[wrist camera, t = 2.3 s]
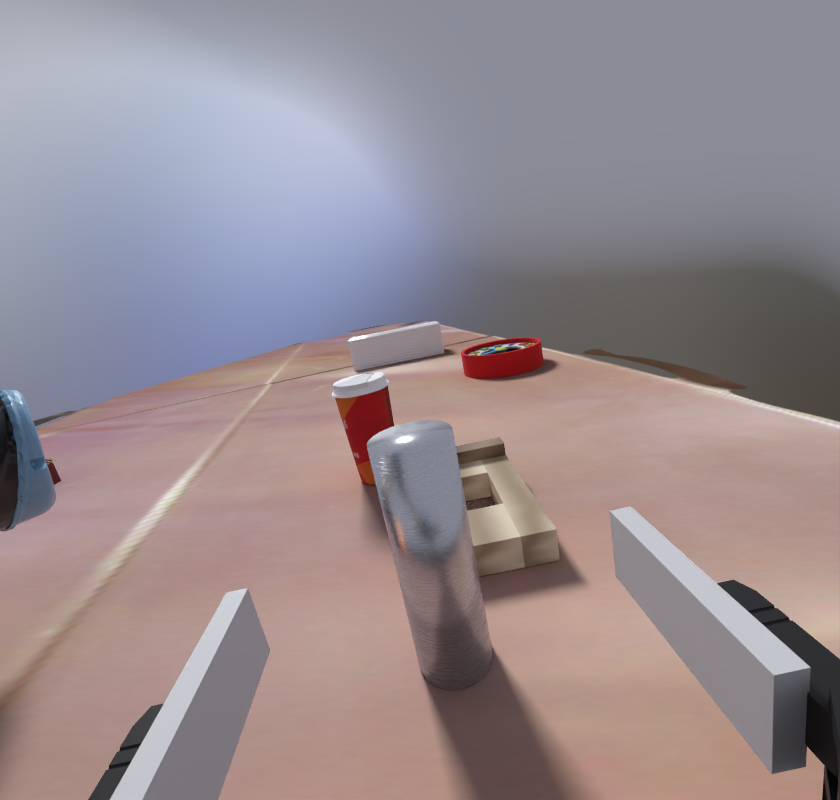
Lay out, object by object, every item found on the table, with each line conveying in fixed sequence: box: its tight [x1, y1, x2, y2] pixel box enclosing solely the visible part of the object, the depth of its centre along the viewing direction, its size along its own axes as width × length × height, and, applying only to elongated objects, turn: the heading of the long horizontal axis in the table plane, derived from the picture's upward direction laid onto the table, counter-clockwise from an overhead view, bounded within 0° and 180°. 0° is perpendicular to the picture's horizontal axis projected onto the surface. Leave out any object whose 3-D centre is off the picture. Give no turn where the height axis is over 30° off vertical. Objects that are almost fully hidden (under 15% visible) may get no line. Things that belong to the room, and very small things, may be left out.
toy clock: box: [461, 338, 543, 379], centre depth 107 cm, size 20×6×20 cm
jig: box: [456, 438, 560, 577], centre depth 43 cm, size 13×18×4 cm
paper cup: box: [332, 372, 394, 485], centre depth 56 cm, size 8×8×14 cm
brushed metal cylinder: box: [367, 420, 493, 690], centre depth 26 cm, size 5×5×16 cm
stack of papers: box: [348, 321, 445, 371], centre depth 149 cm, size 32×11×11 cm, turn 94°
